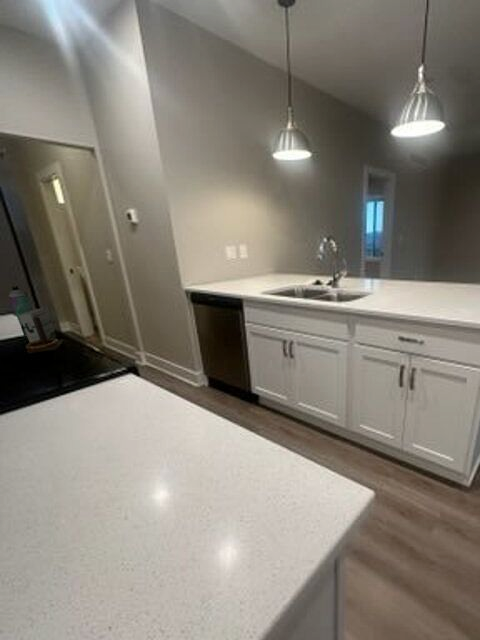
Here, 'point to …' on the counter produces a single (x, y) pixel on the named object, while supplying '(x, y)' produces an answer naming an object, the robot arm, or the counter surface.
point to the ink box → (30, 326)
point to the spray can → (20, 304)
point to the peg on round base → (43, 338)
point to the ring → (51, 340)
